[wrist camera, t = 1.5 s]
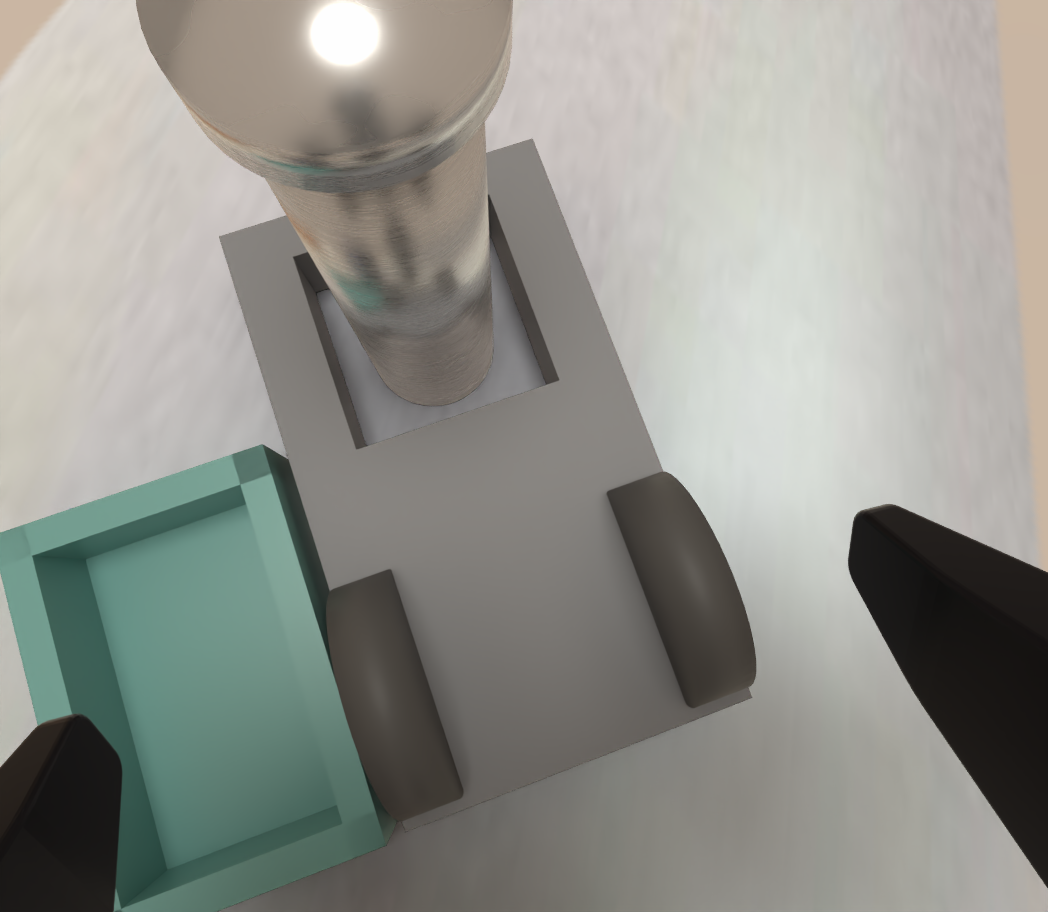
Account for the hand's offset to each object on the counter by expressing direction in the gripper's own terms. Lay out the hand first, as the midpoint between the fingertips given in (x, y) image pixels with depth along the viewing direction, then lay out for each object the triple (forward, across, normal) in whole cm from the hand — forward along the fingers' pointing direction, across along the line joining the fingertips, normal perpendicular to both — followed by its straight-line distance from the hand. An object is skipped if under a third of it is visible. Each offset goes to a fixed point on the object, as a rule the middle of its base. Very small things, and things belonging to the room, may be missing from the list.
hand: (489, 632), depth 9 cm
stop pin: (+15, 0, +4) cm, 15 cm away
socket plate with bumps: (+12, 0, +6) cm, 13 cm away
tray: (+9, +8, +9) cm, 15 cm away
